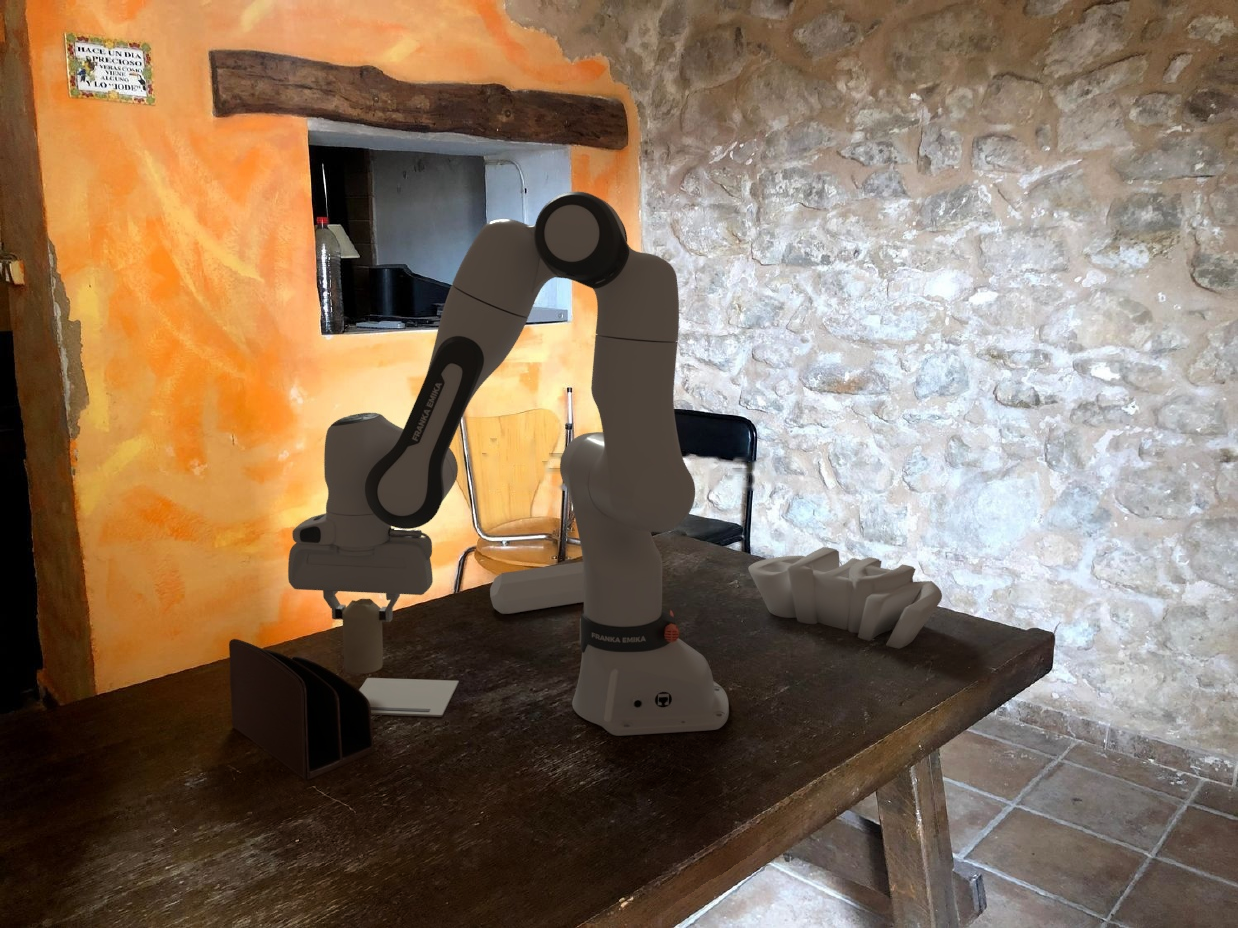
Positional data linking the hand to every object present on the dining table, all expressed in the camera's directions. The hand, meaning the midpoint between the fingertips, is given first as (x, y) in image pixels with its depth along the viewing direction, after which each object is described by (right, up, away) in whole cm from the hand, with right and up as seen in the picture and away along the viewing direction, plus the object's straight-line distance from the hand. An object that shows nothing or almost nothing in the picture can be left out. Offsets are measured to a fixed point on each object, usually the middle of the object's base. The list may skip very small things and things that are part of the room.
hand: (362, 619), depth 142 cm
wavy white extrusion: (+77, -6, +32) cm, 84 cm away
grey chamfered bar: (+25, -4, +41) cm, 48 cm away
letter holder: (-5, -15, -10) cm, 19 cm away
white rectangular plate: (+6, -12, +2) cm, 13 cm away
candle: (0, -7, +1) cm, 7 cm away
